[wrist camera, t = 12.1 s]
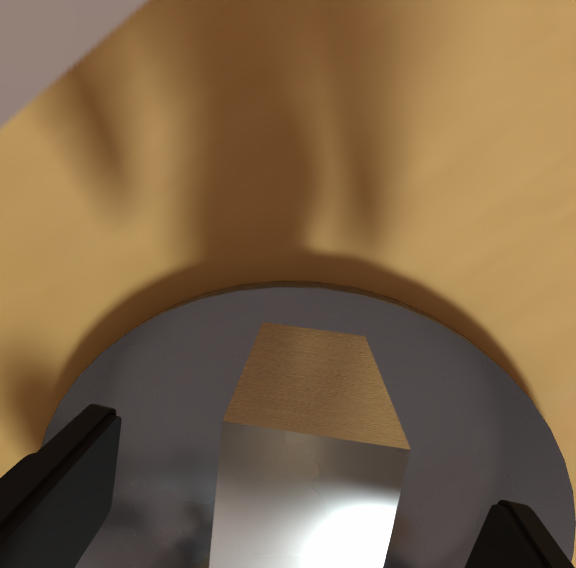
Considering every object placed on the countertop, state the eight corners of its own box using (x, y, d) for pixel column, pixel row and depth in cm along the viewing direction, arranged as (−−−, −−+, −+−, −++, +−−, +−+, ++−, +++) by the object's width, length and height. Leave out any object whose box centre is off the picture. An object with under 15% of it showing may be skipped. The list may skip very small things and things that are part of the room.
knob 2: (271, 297, 13) (218, 422, 6) (355, 308, 13) (415, 452, 5) (251, 464, 15) (191, 730, 7) (325, 476, 14) (340, 758, 7)
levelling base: (-34, 517, 18) (-133, 607, 14) (273, 151, 13) (255, 129, 9) (305, 758, 21) (304, 894, 17) (671, 530, 16) (797, 645, 12)
